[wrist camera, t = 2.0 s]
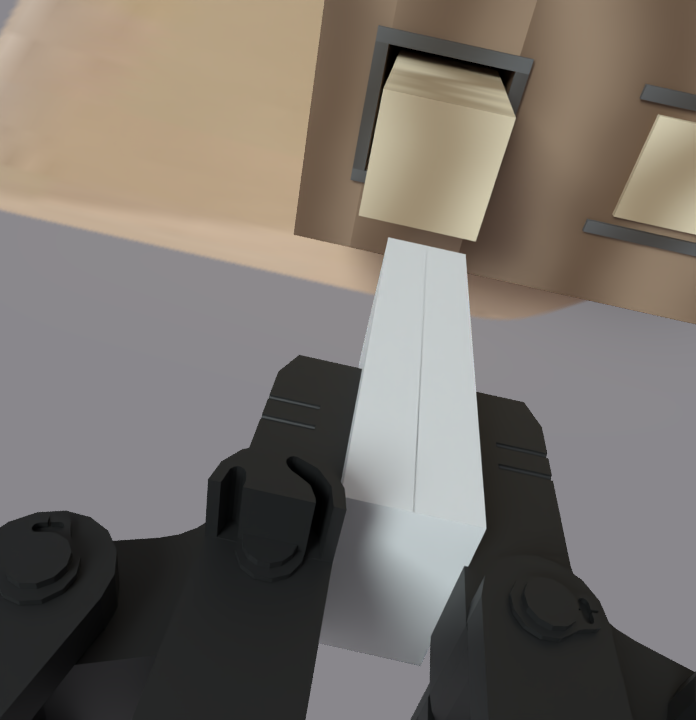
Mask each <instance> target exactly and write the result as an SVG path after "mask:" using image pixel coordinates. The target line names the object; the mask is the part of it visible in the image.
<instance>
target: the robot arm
mask: <svg viewBox="0 0 696 720" xmlns="http://www.w3.org/2000/svg"><path fill="white" fill-rule="evenodd" d="M546 455H547V450H546V446H545V441H544V436H543V431H542V427H541V426H540V424H539V423H538V421H537V420H536V419H535V417H534V416H533V414H532V413H531V412H530V410H529V409H528V407H527V406H526V405H525V403H524V402H520V401H516V400H511V399H507V398H502V397H497V396H492V395H488V394H484V393H479V392H476V385H475V373H474V358H473V345H472V332H471V319H470V306H469V293H468V280H467V267H466V254H462V253H457V252H453V251H448V250H444V249H439V248H434V247H430V246H425V245H421V244H416V243H412V242H407V241H403V240H398V239H394V238H389V237H388V241H387V245H386V250H385V254H384V258H383V262H382V267H381V271H380V275H379V280H378V284H377V288H376V293H375V297H374V301H373V306H372V310H371V314H370V319H369V323H368V327H367V331H366V336H365V340H364V344H363V349H362V353H361V358H360V363H359V368H356V367H351V366H347V365H342V364H338V363H333V362H328V361H324V360H320V359H315V358H310V357H306V356H301V355H299V356H297V357H296V358H295V359H294V360H293V361H291V362H290V363H289V364H288V365H286V366H285V367H284V368H282V369H281V370H280V371H279V372H278V374H277V377H276V380H275V382H274V385H273V388H272V390H271V393H270V396H269V399H268V400H267V403H266V406H265V408H264V411H263V414H262V418H261V419H260V421H259V424H258V426H257V429H256V432H255V434H254V437H253V440H252V442H251V445H250V447H249V448H247V449H242V450H240V451H239V452H237V453H235V454H233V455H232V456H230V457H228V458H227V459H225V460H223V461H221V463H220V464H219V466H218V467H217V468H216V470H215V471H214V472H213V474H212V475H211V476H210V478H209V479H208V491H207V509H206V523H204V524H203V525H201V526H199V527H198V528H195V529H193V530H190V531H187V532H185V533H182V534H179V535H173V536H168V537H161V538H150V539H135V540H120V541H112V538H111V536H110V534H109V532H108V530H106V529H105V528H104V527H103V526H101V525H100V524H99V523H97V522H96V521H94V520H93V519H92V518H91V517H88V516H84V515H80V514H76V513H72V512H69V511H53V512H37V513H34V514H31V515H28V516H25V517H22V518H19V519H16V520H13V521H10V522H8V523H6V524H5V525H3V526H2V527H0V720H305V719H306V713H307V707H308V701H309V696H310V689H311V684H312V678H313V673H314V667H315V661H316V655H317V650H318V644H319V643H320V644H324V645H329V646H333V647H338V648H342V649H347V650H351V651H356V652H360V653H365V654H369V655H374V656H378V657H383V658H387V659H392V660H396V661H401V662H405V663H410V664H414V665H419V666H420V665H421V664H422V662H423V659H424V657H425V655H426V653H427V651H428V649H429V647H430V683H429V685H428V687H427V689H426V691H425V693H424V695H423V697H422V699H421V700H420V703H419V704H418V706H417V708H416V710H415V712H414V714H413V716H412V718H411V720H696V672H693V671H692V670H690V669H688V668H686V667H684V666H682V665H680V664H678V663H676V662H674V661H672V660H670V659H669V658H667V657H665V656H663V655H661V654H659V653H657V652H655V651H653V650H651V649H650V648H648V647H646V646H644V645H642V644H640V643H638V642H636V641H634V640H633V639H631V638H630V637H628V636H626V635H625V634H623V633H622V632H620V631H618V630H617V629H616V628H614V627H613V626H612V625H611V624H610V623H609V622H608V620H607V617H606V615H605V613H604V610H603V608H602V606H601V603H600V601H599V600H598V599H597V598H596V596H595V595H594V594H593V593H592V591H591V590H590V589H589V588H588V587H587V585H586V584H585V583H584V582H583V581H582V580H581V579H580V578H578V577H577V576H575V575H574V574H573V572H572V569H571V566H570V561H569V557H568V552H567V547H566V543H565V537H564V532H563V528H562V523H561V518H560V513H559V508H558V504H557V498H556V494H555V489H554V484H553V481H551V476H552V475H551V470H550V465H549V460H548V458H546Z"/></svg>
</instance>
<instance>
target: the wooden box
mask: <svg viewBox="0 0 696 720" xmlns="http://www.w3.org/2000/svg"><path fill="white" fill-rule="evenodd" d="M398 46H401V47H406V48H410V49H415V50H419V51H424V52H429V53H433V54H438V55H442V56H447V57H451V58H456V59H460V60H465V61H470V62H474V63H479V64H483V65H488V66H491V67H490V69H493V70H497V71H498V73H499V75H500V78H501V80H502V83H503V86H504V88H505V91H506V93H507V96H508V99H509V101H510V104H511V106H512V109H513V112H514V114H515V117H516V119H515V122H514V126H513V129H512V132H511V135H510V138H509V141H508V144H507V147H506V150H505V153H504V156H503V159H502V162H501V165H500V169H499V172H498V175H497V178H496V181H495V184H494V187H493V190H492V193H491V196H490V199H489V202H488V205H487V208H486V211H485V215H484V218H483V221H482V224H481V227H480V230H479V233H478V236H477V239H476V241H471V240H467V239H462V238H458V237H453V236H449V235H444V234H440V233H435V232H431V231H426V230H422V229H417V228H413V227H408V226H404V225H399V224H395V223H390V222H386V221H381V220H377V219H372V218H368V217H363V216H359V210H360V205H361V200H362V195H363V190H364V185H365V180H366V175H367V169H368V164H369V159H370V154H371V149H372V144H373V139H374V134H375V129H376V124H377V118H378V113H379V108H380V103H381V98H382V93H383V88H384V86H385V84H386V82H387V79H388V77H389V75H390V72H391V70H392V68H393V66H394V63H395V59H396V54H397V49H398ZM294 235H298V236H303V237H307V238H311V239H316V240H320V241H325V242H329V243H334V244H338V245H343V246H347V247H352V248H356V249H361V250H365V251H370V252H374V253H379V254H383V255H384V254H385V250H386V245H387V241H388V237H389V238H394V239H398V240H403V241H407V242H412V243H416V244H421V245H425V246H430V247H434V248H439V249H444V250H448V251H453V252H457V253H462V254H466V267H467V273H468V274H473V275H477V276H482V277H486V278H491V279H495V280H500V281H504V282H509V283H513V284H518V285H522V286H527V287H531V288H536V289H540V290H544V291H549V292H553V293H558V294H562V295H567V296H571V297H576V298H580V299H585V300H589V301H594V302H598V303H603V304H607V305H612V306H617V307H621V308H625V309H630V310H634V311H639V312H643V313H648V314H652V315H657V316H661V317H665V318H670V319H674V320H679V321H684V322H688V323H693V324H696V0H325V2H324V10H323V17H322V25H321V32H320V40H319V47H318V55H317V63H316V70H315V78H314V85H313V93H312V101H311V108H310V116H309V123H308V131H307V138H306V146H305V154H304V161H303V169H302V176H301V184H300V191H299V199H298V207H297V214H296V222H295V229H294Z"/></svg>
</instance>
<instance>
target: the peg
mask: <svg viewBox="0 0 696 720" xmlns="http://www.w3.org/2000/svg"><path fill="white" fill-rule="evenodd" d="M515 119H516V117H515V114H514V112H513V109H512V106H511V104H510V101H509V99H508V96H507V93H506V91H505V88H504V86H503V83H502V80H501V78H500V75H499V73H498V71H497V70H493V69H488V68H484V67H479V66H475V65H470V64H465V63H461V62H456V61H452V60H447V59H443V58H438V57H434V56H429V55H425V54H420V53H415V52H411V51H406V50H402V49H401V50H400V52H399V54H398V57H397V59H396V61H395V63H394V66H393V68H392V70H391V72H390V75H389V77H388V79H387V82H386V84H385V86H384V88H383V93H382V98H381V103H380V108H379V113H378V118H377V124H376V129H375V134H374V139H373V144H372V149H371V154H370V159H369V164H368V169H367V175H366V180H365V185H364V190H363V195H362V200H361V205H360V210H359V216H363V217H368V218H372V219H377V220H381V221H386V222H390V223H395V224H399V225H404V226H408V227H413V228H417V229H422V230H426V231H431V232H435V233H440V234H444V235H449V236H453V237H458V238H462V239H467V240H471V241H476V239H477V236H478V233H479V230H480V227H481V224H482V221H483V218H484V215H485V211H486V208H487V205H488V202H489V199H490V196H491V193H492V190H493V187H494V184H495V181H496V178H497V175H498V172H499V169H500V165H501V162H502V159H503V156H504V153H505V150H506V147H507V144H508V141H509V138H510V135H511V132H512V129H513V126H514V122H515Z"/></svg>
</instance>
